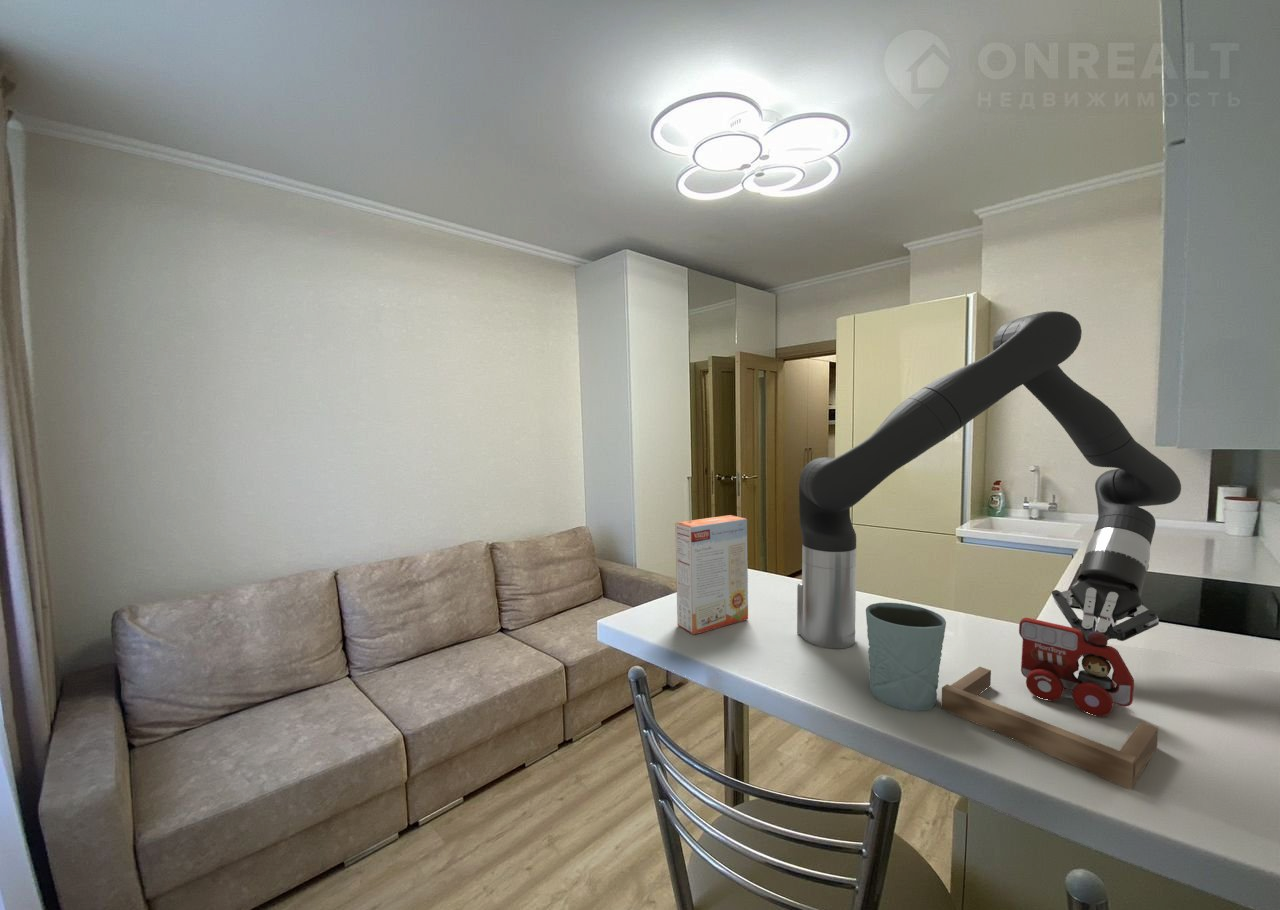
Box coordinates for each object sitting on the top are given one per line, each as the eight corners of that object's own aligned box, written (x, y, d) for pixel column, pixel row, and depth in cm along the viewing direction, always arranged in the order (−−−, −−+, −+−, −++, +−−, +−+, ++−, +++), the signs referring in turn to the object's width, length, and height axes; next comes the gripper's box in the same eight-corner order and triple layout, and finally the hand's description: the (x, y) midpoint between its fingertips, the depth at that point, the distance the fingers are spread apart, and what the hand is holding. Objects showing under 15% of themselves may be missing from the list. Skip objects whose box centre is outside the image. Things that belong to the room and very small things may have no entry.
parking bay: (941, 708, 69) (941, 687, 69) (979, 682, 76) (979, 663, 76) (1131, 789, 53) (1132, 762, 53) (1157, 747, 60) (1158, 723, 60)
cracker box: (729, 611, 106) (729, 513, 105) (749, 620, 101) (749, 518, 100) (675, 625, 99) (674, 520, 98) (693, 635, 94) (692, 525, 93)
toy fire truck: (1130, 728, 64) (1134, 649, 64) (1012, 691, 73) (1014, 622, 73) (1133, 707, 69) (1136, 633, 68) (1022, 675, 78) (1024, 610, 77)
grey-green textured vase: (851, 691, 74) (852, 611, 73) (885, 670, 80) (886, 596, 79) (924, 723, 66) (926, 634, 65) (955, 697, 72) (957, 615, 71)
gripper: (1058, 541, 85) (1029, 628, 79) (1170, 557, 74) (1146, 660, 68) (1067, 566, 89) (1040, 652, 82) (1175, 586, 78) (1153, 686, 72)
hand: (1088, 655), depth 75 cm, fingers closed
